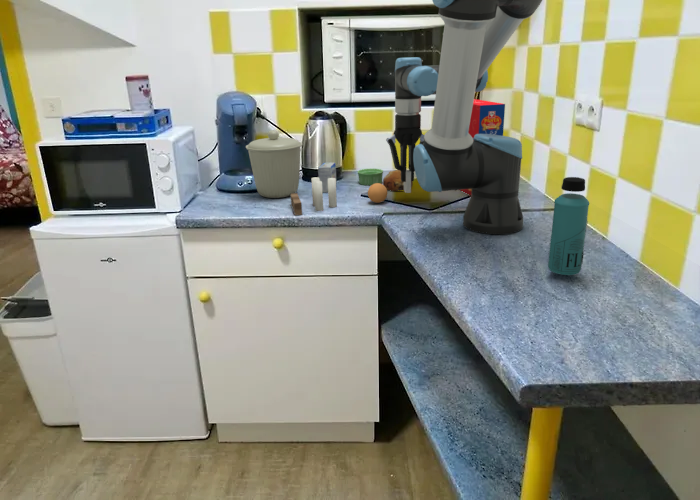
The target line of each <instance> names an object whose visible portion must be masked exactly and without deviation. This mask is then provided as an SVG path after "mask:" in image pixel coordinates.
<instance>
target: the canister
mask: <svg viewBox="0 0 700 500" xmlns="http://www.w3.org/2000/svg"><path fill="white" fill-rule="evenodd" d="M279 136H280V133H279V131H278V130H275V129H271V130H269V131H268V133H267V137H265V138H259V139H255V140H252V141H250V142H249V143H248V144H247V145H245V148H246V150H247V151H248V155H249V157H248V158H249V161H250V165H251V170H252V175H253V180H254V185H255V188H256V191H257V193H258V194H259V195H260V196H261V197H263V198H266V199H267V198H269V199H280V198H287V197H291V193H297V192H298V189H299V185H300V171H301V169H300V168H301V167H300V166H301V148H302V146H303V142H301V141H299V140H298V139H296V138H293V137H283V136H282V137H279Z"/></svg>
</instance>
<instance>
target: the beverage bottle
mask: <svg viewBox="0 0 700 500" xmlns="http://www.w3.org/2000/svg"><path fill="white" fill-rule="evenodd" d="M561 189H562V190H563V191H565V192H567V193H562V194H560V195H559V196H558V197H556V198H555V199H554V205H553V216H552V224H551V225H552V226H551V227H552V228H551V234H550V240H549V245H548V248H549V250H548V252H547V253H548V255H547V256H548V260H547V266H548V270H549V271H551V272H552V273H555V274H558V275H563V276H564V275H565V276H574V275H578V274H579V273H580V272H581V270H582V266H583V260H584V256H585V240H586V234H587V225H588V223H589V221H588V220H589V219H588V216H589V207H590V201H589V200H588V199H587V197H585V196H584V195H583V194H580V192H584V191H585V190H586V179H585V178H582V177H578V176H568V177H564V178H563V179H562V184H561ZM569 192H570V193H569ZM571 192H572V193H571ZM573 192H575V193H573ZM576 192H578V193H579V194H578V193H576Z"/></svg>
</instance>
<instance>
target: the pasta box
mask: <svg viewBox="0 0 700 500" xmlns="http://www.w3.org/2000/svg"><path fill="white" fill-rule="evenodd" d="M505 110H506V103H501V102H494V101H488V100H482V99H475V98H474V101H473V107H472V113H471V119H470V125H469V131H468V133H469V134H470V135H471V136H472V138H474V136H475V135H476V134H493V135H501V136H504V124H505V113H506V111H505ZM473 141H474V140H473ZM461 191H463V192H465V193H467V194H469V195H471V191H472V189H461ZM461 191H460V192H461ZM463 192H462V193H463ZM465 193H464V194H465ZM467 194H466V195H467ZM469 195H468V196H469Z"/></svg>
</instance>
